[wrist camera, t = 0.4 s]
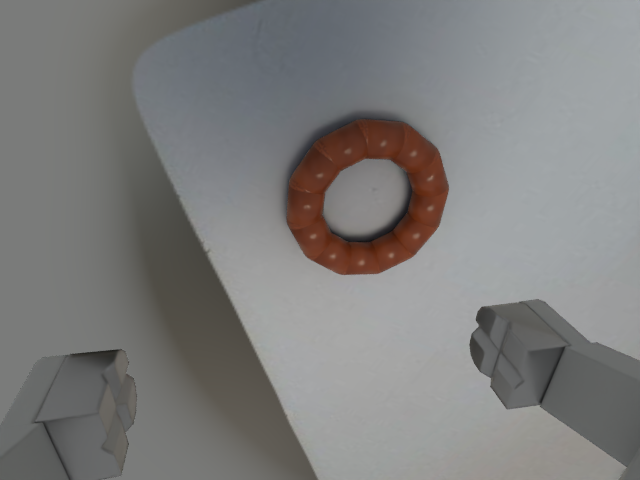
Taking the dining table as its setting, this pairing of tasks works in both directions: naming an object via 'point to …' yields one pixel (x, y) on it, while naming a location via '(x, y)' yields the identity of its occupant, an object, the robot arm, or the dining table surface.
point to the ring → (344, 152)
